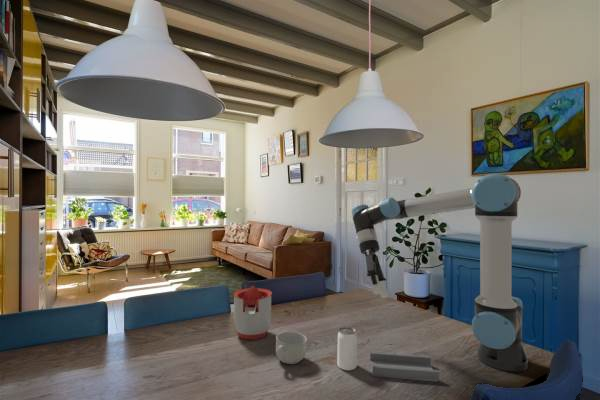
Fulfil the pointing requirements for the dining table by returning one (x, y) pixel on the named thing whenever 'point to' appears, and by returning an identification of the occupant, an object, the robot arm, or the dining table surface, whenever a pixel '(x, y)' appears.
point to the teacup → (290, 347)
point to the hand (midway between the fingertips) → (381, 296)
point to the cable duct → (402, 366)
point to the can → (347, 349)
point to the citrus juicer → (252, 312)
